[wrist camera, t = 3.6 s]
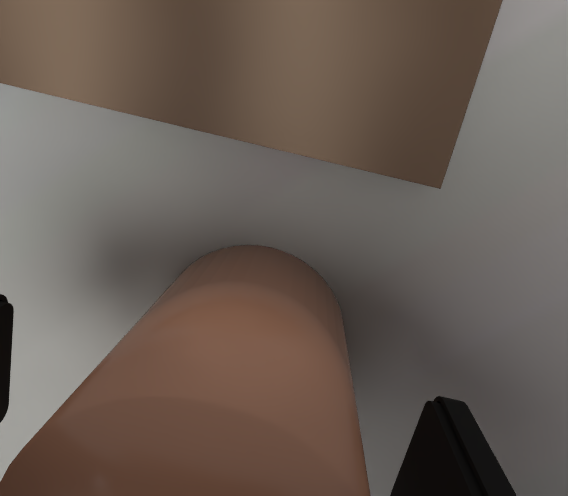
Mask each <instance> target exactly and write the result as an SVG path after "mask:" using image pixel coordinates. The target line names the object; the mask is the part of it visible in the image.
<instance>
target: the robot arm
mask: <svg viewBox="0 0 568 496" xmlns="http://www.w3.org/2000/svg"><path fill="white" fill-rule="evenodd" d="M13 312H14V311H13V306H12V304H10V303H8V300H7V298H6V297H5V296H4V295H1V294H0V422H1V421H2V420H3V418H4V417H5V415H6V413H7V410H8V405H9V387H10V368H11V350H12V331H13ZM390 496H516V494H515V492H514V490H513V488H512V487H511V485H510V483H509V481H508V479H507V477H506V476H505V474H504V472H503V470H502V468H501V466H500V465H499V463H498V461H497V459H496V457H495V456H494V454H493V452H492V450H491V448H490V446H489V445H488V443H487V441H486V439H485V437H484V435H483V434H482V432H481V430H480V428H479V426H478V424H477V423H476V421H475V419H474V417H473V415H472V413H471V412H470V410H469V408H468V406H467V405H466V403H465V402H462V401H458V400H454V399H449V398H445V397H441V396H438V397H436V398H435V399H434V401H427V402H426V404H425V406H424V408H423V411H422V413H421V416H420V418H419V421H418V424H417V426H416V429H415V431H414V434H413V437H412V439H411V442H410V445H409V447H408V450H407V452H406V455H405V458H404V460H403V463H402V466H401V468H400V471H399V473H398V476H397V479H396V481H395V484H394V487H393V489H392V492H391V495H390Z"/></svg>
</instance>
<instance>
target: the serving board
mask: <svg viewBox="0 0 568 496" xmlns="http://www.w3.org/2000/svg"><path fill="white" fill-rule="evenodd" d="M501 3H502V0H0V83H3V84H7V85H11V86H16V87H20V88H24V89H28V90H32V91H36V92H40V93H45V94H49V95H53V96H57V97H61V98H65V99H70V100H74V101H78V102H82V103H86V104H90V105H95V106H99V107H103V108H107V109H111V110H115V111H119V112H124V113H128V114H132V115H136V116H140V117H144V118H149V119H153V120H157V121H161V122H165V123H169V124H173V125H178V126H182V127H186V128H190V129H194V130H198V131H203V132H207V133H211V134H215V135H219V136H223V137H228V138H232V139H236V140H240V141H244V142H248V143H252V144H257V145H261V146H265V147H269V148H273V149H277V150H282V151H286V152H290V153H294V154H298V155H302V156H306V157H311V158H315V159H319V160H323V161H327V162H331V163H336V164H340V165H344V166H348V167H352V168H356V169H360V170H365V171H369V172H373V173H377V174H381V175H385V176H390V177H394V178H398V179H402V180H406V181H410V182H415V183H419V184H423V185H427V186H431V187H435V188H439V189H441V186H442V183H443V180H444V177H445V174H446V171H447V167H448V164H449V161H450V158H451V155H452V152H453V149H454V146H455V143H456V140H457V137H458V134H459V131H460V128H461V125H462V122H463V119H464V116H465V113H466V110H467V107H468V104H469V101H470V98H471V95H472V92H473V88H474V85H475V82H476V79H477V76H478V73H479V70H480V67H481V64H482V61H483V58H484V55H485V52H486V49H487V46H488V43H489V40H490V37H491V34H492V31H493V28H494V25H495V22H496V19H497V16H498V13H499V9H500V6H501Z"/></svg>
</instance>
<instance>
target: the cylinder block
mask: <svg viewBox="0 0 568 496" xmlns="http://www.w3.org/2000/svg"><path fill="white" fill-rule="evenodd" d="M0 496H370V490H369V484H368V477H367V471H366V464H365V458H364V451H363V445H362V438H361V432H360V426H359V419H358V413H357V406H356V400H355V393H354V387H353V380H352V374H351V367H350V361H349V355H348V348H347V342H346V335H345V329H344V322H343V318H342V313H341V310H340V307H339V304H338V302H337V299H336V297H335V296H334V294H333V292H332V290H331V289H330V287H329V286H328V284H327V283H326V282H325V280H324V279H323V278H322V277H321V276H320V275H319V274H318V273H317V272H316V271H315V270H314V269H313V268H311V267H310V266H309V265H308V264H306V263H305V262H303V261H302V260H300V259H298V258H297V257H295V256H293V255H290V254H288V253H286V252H284V251H281V250H277V249H274V248H270V247H265V246H258V245H240V246H232V247H227V248H222V249H219V250H216V251H214V252H211V253H209V254H207V255H205V256H203V257H201V258H199V259H198V260H196V261H195V262H194V263H192V264H191V265H189V266H188V267H187V268H186V269H185V270H184V271H183V272H182V273H181V274H180V275H179V276H178V277H177V279H176V280H175V281H174V282H173V283H172V284H171V285H170V286H169V287H168V289H167V290H166V291H165V292H164V293H163V294H162V295H161V296H160V297H159V298H158V300H157V301H156V302H155V303H154V304H153V305H152V306H151V307H150V308H149V310H148V311H147V312H146V313H145V314H144V315H143V316H142V317H141V318H140V319H139V321H138V322H137V323H136V324H135V325H134V326H133V327H132V328H131V329H130V331H129V332H128V333H127V334H126V335H125V336H124V337H123V338H122V339H121V340H120V342H119V343H118V344H117V345H116V346H115V347H114V348H113V349H112V350H111V352H110V353H109V354H108V355H107V356H106V357H105V358H104V359H103V360H102V361H101V363H100V364H99V365H98V366H97V367H96V368H95V369H94V370H93V371H92V372H91V374H90V375H89V376H88V377H87V378H86V379H85V380H84V381H83V382H82V384H81V385H80V386H79V387H78V388H77V389H76V390H75V391H74V392H73V393H72V395H71V396H70V397H69V398H68V399H67V400H66V401H65V402H64V403H63V405H62V406H61V407H60V408H59V409H58V410H57V411H56V412H55V413H54V414H53V416H52V417H51V418H50V419H49V420H48V421H47V422H46V423H45V424H44V426H43V427H42V428H41V429H40V430H39V431H38V432H37V433H36V434H35V435H34V437H33V438H32V439H31V440H30V441H29V442H28V443H27V444H26V445H25V447H24V448H23V449H22V450H21V451H20V453H19V454H18V455H17V456H16V458H15V459H14V460H13V462H12V463H11V464H10V465H9V467H8V469H7V471H6V473H5V474H4V476H3V478H2V480H1V482H0Z"/></svg>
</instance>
